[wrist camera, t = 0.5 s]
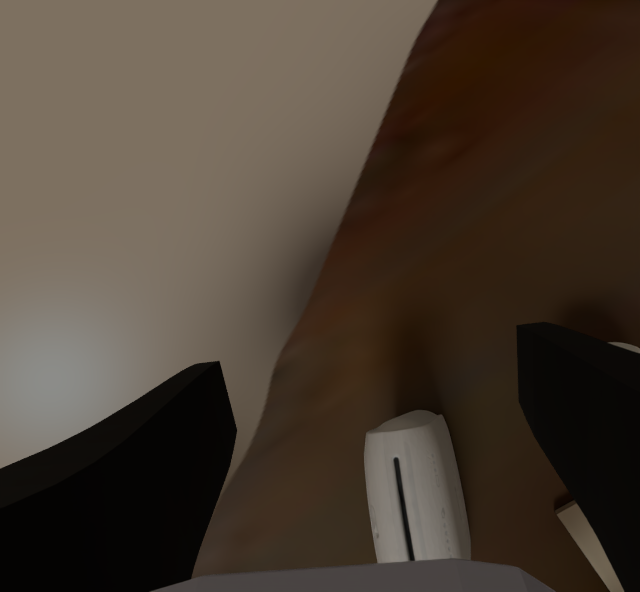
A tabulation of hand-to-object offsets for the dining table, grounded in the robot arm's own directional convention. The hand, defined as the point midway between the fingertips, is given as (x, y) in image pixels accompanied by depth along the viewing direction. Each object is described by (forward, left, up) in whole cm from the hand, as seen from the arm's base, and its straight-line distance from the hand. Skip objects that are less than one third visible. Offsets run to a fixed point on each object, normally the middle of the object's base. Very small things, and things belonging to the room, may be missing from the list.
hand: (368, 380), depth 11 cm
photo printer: (-5, +5, -25) cm, 26 cm away
